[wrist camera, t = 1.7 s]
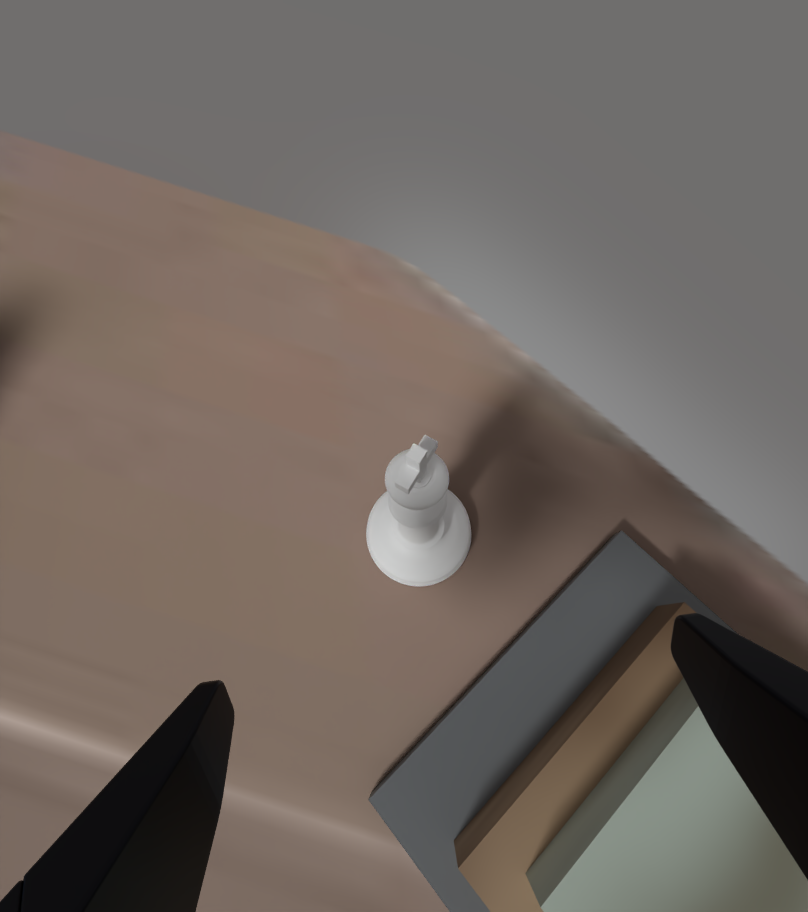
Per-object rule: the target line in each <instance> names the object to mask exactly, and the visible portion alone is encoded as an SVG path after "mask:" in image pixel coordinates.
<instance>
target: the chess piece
mask: <svg viewBox="0 0 808 912" xmlns="http://www.w3.org/2000/svg"><path fill="white" fill-rule="evenodd" d="M437 447H438V441H436V440H434V439H432V438H430V437H428V436H426V435H424V437H423V438H422V440H421V442H420V443H419V445H416V444H414V443H413V445H412V447H411V448H410V449H407V450H404V451H402V452H400V453H399V454H397V455H396V456H395V457H394V458H393V459H392V460H391V461H390V463H389V465H388V467H387V469H386V473H385V485H386V488H387V491H386V492H385V493H384V494H383V495H382V496H381V497H380V498H379V499H378V500H377V502H376V503H375V505H374V506H373V508H372V510H371V512H370V515H369V518H368V523H367V531H366V537H367V545H368V549H369V552H370V554H371V557H372V559H373V560H374V562H375V563H376V565H377V566H378V567H379V569H380V570H381V571H382V572H383V573H384V574H386V575H387V576H388V577H390V578H391V579H393V580H395V581H397V582H399V583H402V584H405V585H409V586H429V585H433V584H436V583H439V582H441V581H443V580H445V579H447V578H448V577H450V576H451V575H452V574H454V573H455V572H456V571H457V570H458V569H459V567H460V566H461V565H462V563H463V562H464V560H465V558H466V556H467V554H468V551H469V548H470V544H471V525H470V521H469V517H468V514H467V511H466V509H465V507H464V506H463V504H462V503H461V501H460V500H459V499H458V498H457V496H456V495H455V494H453V493H452V492H451V491H450V490H448V485H449V472H448V469H447V466H446V464H445V463H444V461H443V460H442V459H441V458H440V457H439V456H438V455H437V454H435V453H434V452H435V451H436V449H437Z"/></svg>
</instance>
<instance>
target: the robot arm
mask: <svg viewBox="0 0 808 912" xmlns="http://www.w3.org/2000/svg"><path fill="white" fill-rule="evenodd" d="M671 653H672V656H673V659H674V661H675V663H676V664H677V666H678V668H679V670H680V672H681V674H682V676H683V678H684V680H685V682H686V683H687V685H688V687H689V689H690V691H691V693H692V695H693V697H694V699H695V701H696V703H697V704H698V706H699V708H700V710H701V712H702V714H703V716H704V718H705V720H706V722H707V723H708V725H709V727H710V729H711V731H712V732H713V734H714V736H715V738H716V739H717V741H718V742H719V744H720V746H721V747H722V749H723V750H724V752H725V754H726V755H727V757H728V758H729V760H730V761H731V763H732V764H733V766H734V767H735V769H736V771H737V772H738V774H739V775H740V777H741V778H742V780H743V781H744V783H745V784H746V786H747V788H748V789H749V791H750V792H751V794H752V795H753V797H754V798H755V800H756V801H757V803H758V804H759V806H760V808H761V809H762V811H763V812H764V814H765V815H766V817H767V818H768V820H769V821H770V823H771V825H772V826H773V828H774V829H775V831H776V832H777V834H778V835H779V837H780V838H781V840H782V842H783V843H784V845H785V846H786V848H787V849H788V851H789V852H790V854H791V855H792V857H793V858H794V860H795V862H796V863H797V865H798V866H799V868H800V869H801V871H802V872H803V874H804V875H805V877H806V879H807V880H808V672H807V671H805V670H803V669H802V668H800V667H798V666H796V665H794V664H792V663H790V662H789V661H787V660H785V659H783V658H781V657H779V656H777V655H776V654H774V653H772V652H770V651H768V650H766V649H765V648H763V647H761V646H759V645H757V644H755V643H753V642H752V641H750V640H748V639H746V638H744V637H742V636H740V635H739V634H737V633H735V632H733V631H731V630H729V629H728V628H726V627H724V626H722V625H720V624H718V623H716V622H715V621H713V620H711V619H709V618H707V617H705V616H703V615H701V614H698V613H691V614H683V615H678V616H677V617H676V618H675V620H674V625H673V632H672V638H671ZM233 726H234V709H233V705H232V703H231V700H230V698H229V695H228V692H227V690H226V687H225V685H224V683H223V682H222V681H221V680H216V681H209V682H203V683H200V684H199V685H197V686H196V687H195V689H194V690H193V691H192V692H191V693H190V694H189V695H188V696H187V697H186V698H185V699H184V701H183V702H182V703H181V704H180V705H179V706H178V707H177V708H176V709H175V710H174V712H173V713H172V714H171V715H170V716H169V717H168V718H167V719H166V720H165V721H164V723H163V724H162V725H161V726H160V727H159V728H158V729H157V730H156V731H155V732H154V734H153V735H152V736H151V737H150V738H149V739H148V740H147V741H146V742H145V743H144V745H143V746H142V747H141V748H140V749H139V750H138V751H137V752H136V753H135V754H134V756H133V757H132V758H131V759H130V760H129V761H128V762H127V763H126V764H125V765H124V767H123V768H122V769H121V770H120V771H119V772H118V773H117V774H116V775H115V776H114V778H113V779H112V780H111V781H110V782H109V783H108V784H107V785H106V786H105V787H104V788H103V790H102V791H101V792H100V793H99V794H98V795H97V796H96V797H95V798H94V799H93V801H92V802H91V803H90V804H89V805H88V806H87V807H86V808H85V809H84V810H83V812H82V813H81V814H80V815H79V816H78V817H77V818H76V819H75V820H74V821H73V823H72V824H71V825H70V826H69V827H68V828H67V829H66V830H65V831H64V832H63V834H62V835H61V836H60V837H59V838H58V839H57V840H56V841H55V842H54V843H53V845H52V846H51V847H50V848H49V849H48V850H47V851H46V852H45V853H44V854H43V856H42V857H41V858H40V859H39V860H38V861H37V862H36V863H35V864H34V865H33V866H32V868H31V869H30V870H29V871H28V872H27V873H26V874H25V876H24V879H23V880H21V881H19V882H18V883H17V884H16V885H15V886H14V887H13V888H12V889H11V890H10V892H9V893H8V894H7V895H6V896H5V897H4V898H3V899H2V900H1V901H0V912H195V911H196V907H197V903H198V899H199V895H200V891H201V887H202V883H203V879H204V875H205V871H206V867H207V863H208V859H209V855H210V851H211V847H212V843H213V839H214V835H215V831H216V827H217V823H218V818H219V814H220V810H221V804H222V798H223V793H224V786H225V779H226V772H227V766H228V759H229V752H230V746H231V739H232V732H233Z"/></svg>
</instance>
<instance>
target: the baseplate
mask: <svg viewBox="0 0 808 912" xmlns="http://www.w3.org/2000/svg"><path fill="white" fill-rule="evenodd" d="M682 602H685V603H686V604H687V605H688V606H689V607H690V608H692V609H693V610H694V611H695V612H696V613H698V614H701V615H703V616H705V617H707V618H709V619H711V620H713V621H715V622H716V623H718V624H720V625H722V626H724V627H726V628H728V629H729V630H731V631H733V632H735V631H734V630H733V629H732V628H730V627H729V626H728V625H727V624H726V623H725V622H724V621H723V620H721V619H720V618H719V617H718V616H717V615H716V614H715V613H714V612H712V611H711V610H710V609H709V608H708V607H707V606H706V605H705V604H703V603H702V602H701V601H700V600H699V599H698V598H697V597H696V596H695V595H693V594H692V593H691V592H690V591H689V590H688V589H687V588H686V587H684V586H683V585H682V584H681V583H680V582H679V581H678V580H677V579H675V578H674V577H673V576H672V575H671V574H670V573H669V572H668V571H666V570H665V569H664V568H663V567H662V566H661V565H660V564H659V563H657V562H656V561H655V560H654V559H653V558H652V557H651V556H650V555H649V554H647V553H646V552H645V551H644V550H643V549H642V548H641V547H640V546H638V545H637V544H636V543H635V542H634V541H633V540H632V539H631V538H629V537H628V536H627V535H626V534H625V533H624V532H623V531H622V530H621V531H619V532H618V533H616V534H614V535H613V536H612V537H611V538H610V540H609V541H608V542H607V543H606V544H605V545H604V546H603V547H602V548H601V549H600V550H599V551H598V552H597V553H596V554H595V555H594V557H593V558H592V559H591V560H590V561H589V562H588V563H587V564H586V565H585V566H584V567H583V568H582V569H581V570H580V571H579V572H578V574H577V575H576V576H575V577H574V578H573V579H572V580H571V581H570V582H569V583H568V584H567V585H566V586H565V587H564V588H563V589H562V591H561V592H560V593H559V594H558V595H557V596H556V597H555V598H554V599H553V600H552V601H551V602H550V603H549V604H548V605H547V606H546V608H545V609H544V610H543V611H542V612H541V613H540V614H539V615H538V616H537V617H536V618H535V619H534V620H533V621H532V622H531V623H530V625H529V626H528V627H527V628H526V629H525V630H524V631H523V632H522V633H521V634H520V635H519V636H518V637H517V638H516V639H515V640H514V642H513V643H512V644H511V645H510V646H509V647H508V648H507V649H506V650H505V651H504V652H503V653H502V654H501V655H500V656H499V657H498V659H497V660H496V661H495V662H494V663H493V664H492V665H491V666H490V667H489V668H488V669H487V670H486V671H485V672H484V673H483V674H482V676H481V677H480V678H479V679H478V680H477V681H476V682H475V683H474V684H473V685H472V686H471V687H470V688H469V689H468V690H467V691H466V693H465V694H464V695H463V696H462V697H461V698H460V699H459V700H458V701H457V702H456V703H455V704H454V705H453V706H452V707H451V708H450V710H449V711H448V712H447V713H446V714H445V715H444V716H443V717H442V718H441V719H440V720H439V721H438V722H437V723H436V724H435V725H434V727H433V728H432V729H431V730H430V731H429V732H428V733H427V734H426V735H425V736H424V737H423V738H422V739H421V740H420V741H419V742H418V744H417V745H416V746H415V747H414V748H413V749H412V750H411V751H410V752H409V753H408V754H407V755H406V756H405V757H404V758H403V759H402V761H401V762H400V763H399V764H398V765H397V766H396V767H395V768H394V769H393V770H392V771H391V772H390V773H389V774H388V775H387V776H386V778H385V779H384V780H383V781H382V782H381V783H380V784H379V785H378V786H377V787H376V788H375V789H374V790H373V791H372V792H371V794H370V797H369V801H370V802H371V804H372V805H373V807H374V808H375V809H376V811H377V812H378V813H379V815H380V816H381V818H382V819H383V820H384V822H385V823H386V824H387V826H388V827H389V829H390V830H391V831H392V833H393V834H394V835H395V837H396V838H397V840H398V841H399V842H400V844H401V845H402V846H403V848H404V849H405V851H406V852H407V853H408V855H409V856H410V857H411V859H412V860H413V862H414V863H415V864H416V866H417V867H418V868H419V870H420V871H421V873H422V874H423V875H424V877H425V878H426V879H427V881H428V882H429V884H430V885H431V886H432V888H433V889H434V890H435V892H436V893H437V895H438V896H439V897H440V899H441V900H442V901H443V903H444V904H445V906H446V907H447V908H448V910H449V911H450V912H490V910H489V909H488V908H487V906H486V905H485V904H484V902H483V901H482V900H481V898H480V897H479V896H478V894H477V893H476V892H475V890H474V889H473V888H472V886H471V885H470V884H469V882H468V881H467V880H466V878H465V877H464V876H463V874H462V873H461V872H460V870H459V869H458V865H457V859H456V852H455V846H454V840H455V838H456V837H457V836H458V835H459V834H460V833H461V832H462V830H463V829H464V828H465V827H466V826H467V825H468V823H469V822H470V821H471V820H472V819H473V818H474V817H475V815H476V814H477V813H478V812H479V811H480V810H481V808H482V807H483V806H484V805H485V804H486V803H487V801H488V800H489V799H490V798H491V797H492V796H493V795H494V793H495V792H496V791H497V790H498V789H499V788H500V786H501V785H502V784H503V783H504V782H505V781H506V780H507V778H508V777H509V776H510V775H511V774H512V773H513V771H514V770H515V769H516V768H517V767H518V766H519V765H520V763H521V762H522V761H523V760H524V759H525V758H526V756H527V755H528V754H529V753H530V752H531V751H532V750H533V748H534V747H535V746H536V745H537V744H538V743H539V741H540V740H541V739H542V738H543V737H544V736H545V735H546V733H547V732H548V731H549V730H550V729H551V728H552V726H553V725H554V724H555V723H556V722H557V721H558V720H559V718H560V717H561V716H562V715H563V714H564V713H565V711H566V710H567V709H568V708H569V707H570V706H571V705H572V703H573V702H574V701H575V700H576V699H577V698H578V696H579V695H580V694H581V693H582V692H583V691H584V690H585V688H586V687H587V686H588V685H589V684H590V683H591V681H592V680H593V679H594V678H595V677H596V676H597V675H598V673H599V672H600V671H601V670H602V669H603V668H604V666H605V665H606V664H607V663H608V662H609V661H610V660H611V658H612V657H613V656H614V655H615V654H616V653H617V651H618V650H619V649H620V648H621V647H622V646H623V645H624V643H625V642H626V641H627V640H628V639H629V638H630V636H631V635H632V634H633V633H634V632H635V631H636V629H637V628H638V627H639V626H640V625H641V624H642V623H643V621H644V620H645V619H646V618H647V617H648V616H649V614H650V613H651V612H652V611H653V610H654V609H655V608H656V606H660V605H667V604H674V603H682ZM735 633H736V632H735Z"/></svg>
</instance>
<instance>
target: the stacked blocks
mask: <svg viewBox="0 0 808 912" xmlns="http://www.w3.org/2000/svg"><path fill="white" fill-rule="evenodd" d="M691 613H696V612H695V611H694V610H693V609H692V608H690V607H689V606H688V605H687V604H686V603H685V602H682V603H674V604H667V605H660V606H656V608H655V609H654V610H653V611H652V612H651V613H650V614H649V616H648V617H647V618H646V619H645V620H644V621H643V623H642V624H641V625H640V626H639V627H638V628H637V629H636V631H635V632H634V633H633V634H632V635H631V636H630V638H629V639H628V640H627V641H626V642H625V643H624V645H623V646H622V647H621V648H620V649H619V650H618V651H617V653H616V654H615V655H614V656H613V657H612V658H611V660H610V661H609V662H608V663H607V664H606V665H605V666H604V668H603V669H602V670H601V671H600V672H599V673H598V675H597V676H596V677H595V678H594V679H593V680H592V681H591V683H590V684H589V685H588V686H587V687H586V688H585V690H584V691H583V692H582V693H581V694H580V695H579V696H578V698H577V699H576V700H575V701H574V702H573V703H572V705H571V706H570V707H569V708H568V709H567V710H566V711H565V713H564V714H563V715H562V716H561V717H560V718H559V720H558V721H557V722H556V723H555V724H554V725H553V726H552V728H551V729H550V730H549V731H548V732H547V733H546V735H545V736H544V737H543V738H542V739H541V740H540V741H539V743H538V744H537V745H536V746H535V747H534V748H533V750H532V751H531V752H530V753H529V754H528V755H527V756H526V758H525V759H524V760H523V761H522V762H521V763H520V765H519V766H518V767H517V768H516V769H515V770H514V771H513V773H512V774H511V775H510V776H509V777H508V778H507V780H506V781H505V782H504V783H503V784H502V785H501V786H500V788H499V789H498V790H497V791H496V792H495V793H494V795H493V796H492V797H491V798H490V799H489V800H488V801H487V803H486V804H485V805H484V806H483V807H482V808H481V810H480V811H479V812H478V813H477V814H476V815H475V817H474V818H473V819H472V820H471V821H470V822H469V823H468V825H467V826H466V827H465V828H464V829H463V830H462V832H461V833H460V834H459V835H458V836H457V837H456V838H455V840H454V846H455V852H456V859H457V865H458V869H459V870H460V872H461V873H462V874H463V876H464V877H465V878H466V880H467V881H468V882H469V884H470V885H471V886H472V888H473V889H474V890H475V892H476V893H477V894H478V896H479V897H480V898H481V900H482V901H483V902H484V904H485V905H486V906H487V908H488V909H489V910H490V912H808V880H807V879H806V877H805V875H804V874H803V872H802V871H801V869H800V868H799V866H798V865H797V863H796V862H795V860H794V858H793V857H792V855H791V854H790V852H789V851H788V849H787V848H786V846H785V845H784V843H783V842H782V840H781V838H780V837H779V835H778V834H777V832H776V831H775V829H774V828H773V826H772V825H771V823H770V821H769V820H768V818H767V817H766V815H765V814H764V812H763V811H762V809H761V808H760V806H759V804H758V803H757V801H756V800H755V798H754V797H753V795H752V794H751V792H750V791H749V789H748V788H747V786H746V784H745V783H744V781H743V780H742V778H741V777H740V775H739V774H738V772H737V771H736V769H735V767H734V766H733V764H732V763H731V761H730V760H729V758H728V757H727V755H726V754H725V752H724V750H723V749H722V747H721V746H720V744H719V742H718V741H717V739H716V738H715V736H714V734H713V732H712V731H711V729H710V727H709V725H708V723H707V722H706V720H705V718H704V716H703V714H702V712H701V710H700V708H699V706H698V704H697V703H696V701H695V699H694V697H693V695H692V693H691V691H690V689H689V687H688V685H687V683H686V682H685V680H684V678H683V676H682V674H681V672H680V670H679V668H678V666H677V664H676V663H675V661H674V659H673V656H672V653H671V638H672V632H673V625H674V620H675V618H676V617H677V616H678V615H683V614H691Z"/></svg>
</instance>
